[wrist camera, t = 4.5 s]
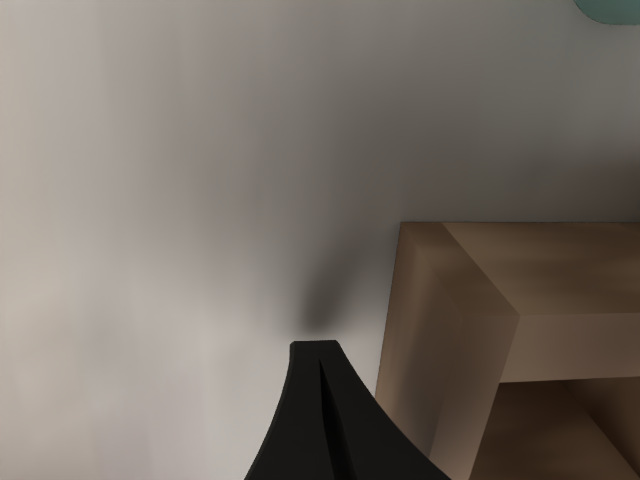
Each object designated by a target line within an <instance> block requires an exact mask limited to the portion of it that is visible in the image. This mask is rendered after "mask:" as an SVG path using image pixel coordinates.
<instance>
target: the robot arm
mask: <svg viewBox="0 0 640 480" xmlns="http://www.w3.org/2000/svg"><path fill="white" fill-rule="evenodd" d="M244 480H452V479H451V478H449V477H448V476H447V475H446V474H445V473H444V472H443V471H441V470H440V469H439V468H438V467H437V466H436V465H435V464H434V463H432V462H431V461H430V460H429V459H428V458H427V457H426V456H425V455H424V454H423V453H422V452H421V451H420V450H419V449H418V448H417V447H416V446H415V445H414V444H413V443H412V442H411V441H410V440H409V439H408V438H407V437H406V436H405V435H404V434H403V432H402V431H401V430H400V429H399V428H398V427H397V426H396V425H395V423H394V422H393V421H392V420H391V419H390V418H389V416H388V415H387V414H386V413H385V411H384V410H383V409H382V408H381V406H380V405H379V404H378V403H377V401H376V400H375V399H374V397H373V396H372V395H371V393H370V392H369V390H368V389H367V388H366V386H365V385H364V383H363V382H362V381H361V379H360V378H359V376H358V375H357V373H356V371H355V370H354V368H353V367H352V365H351V364H350V362H349V360H348V359H347V357H346V355H345V353H344V352H343V350H342V348H341V346H340V344H339V343H338V342H337V341H336V340H320V341H294V342H292V343H291V344H290V358H289V366H288V371H287V376H286V380H285V383H284V387H283V390H282V394H281V397H280V400H279V403H278V406H277V409H276V411H275V414H274V417H273V420H272V422H271V425H270V427H269V430H268V432H267V434H266V437H265V439H264V441H263V443H262V445H261V447H260V450H259V452H258V454H257V456H256V458H255V460H254V462H253V464H252V465H251V467H250V469H249V471H248V473H247V475H246V477H245V479H244Z"/></svg>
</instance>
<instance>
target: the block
mask: <svg viewBox="0 0 640 480" xmlns="http://www.w3.org/2000/svg"><path fill="white" fill-rule="evenodd" d="M375 400H376V401H377V403H378V404H379V405H380V406H381V408H382V409H383V410H384V411H385V413H386V414H387V415H388V416H389V418H390V419H391V420H392V421H393V422H394V423H395V425H396V426H397V427H398V428H399V429H400V430H401V431H402V432H403V434H404V435H405V436H406V437H407V438H408V439H409V440H410V441H411V442H412V443H413V444H414V445H415V446H416V447H417V448H418V449H419V450H420V451H421V452H422V453H423V454H424V455H425V456H426V457H427V458H428V459H429V460H430V461H431V462H432V463H434V464H435V465H436V466H437V467H438V468H439V469H440V470H441V471H443V472H444V473H445V474H446V475H447V476H448V477H449V478H451V479H452V480H640V223H523V222H401V227H400V233H399V240H398V247H397V253H396V260H395V267H394V273H393V280H392V287H391V294H390V300H389V307H388V314H387V320H386V327H385V334H384V340H383V347H382V354H381V360H380V367H379V374H378V380H377V387H376V394H375Z"/></svg>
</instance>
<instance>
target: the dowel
mask: <svg viewBox="0 0 640 480" xmlns="http://www.w3.org/2000/svg"><path fill="white" fill-rule="evenodd" d="M574 1H575V2H576V4H577V6H578V7H579V8H580V9H581V10H582V12H583V13H584V14H586V15H587V16H588V17H590V18H591V19H593V20H595V21H598V22H601V23H605V24H619V25H640V0H574Z"/></svg>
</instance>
